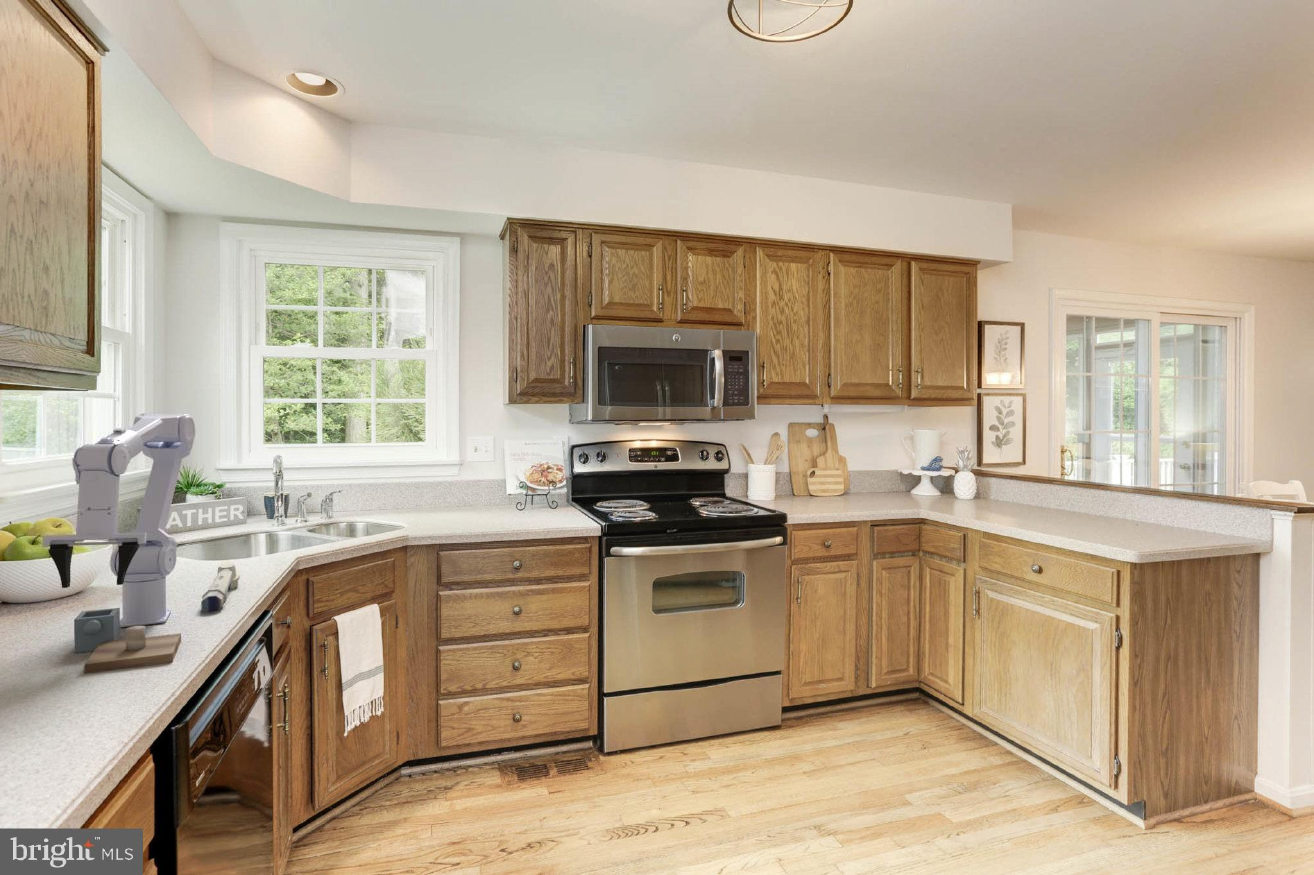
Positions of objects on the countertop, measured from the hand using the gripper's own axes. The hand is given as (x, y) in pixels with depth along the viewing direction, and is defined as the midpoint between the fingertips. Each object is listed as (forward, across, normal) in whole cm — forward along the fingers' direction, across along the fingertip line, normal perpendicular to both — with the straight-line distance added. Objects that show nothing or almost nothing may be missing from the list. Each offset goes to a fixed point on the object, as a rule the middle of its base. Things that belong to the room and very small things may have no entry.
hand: (93, 585), depth 124 cm
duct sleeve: (+11, 0, +4) cm, 12 cm away
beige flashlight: (+8, +18, +32) cm, 38 cm away
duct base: (+12, +7, -5) cm, 15 cm away
